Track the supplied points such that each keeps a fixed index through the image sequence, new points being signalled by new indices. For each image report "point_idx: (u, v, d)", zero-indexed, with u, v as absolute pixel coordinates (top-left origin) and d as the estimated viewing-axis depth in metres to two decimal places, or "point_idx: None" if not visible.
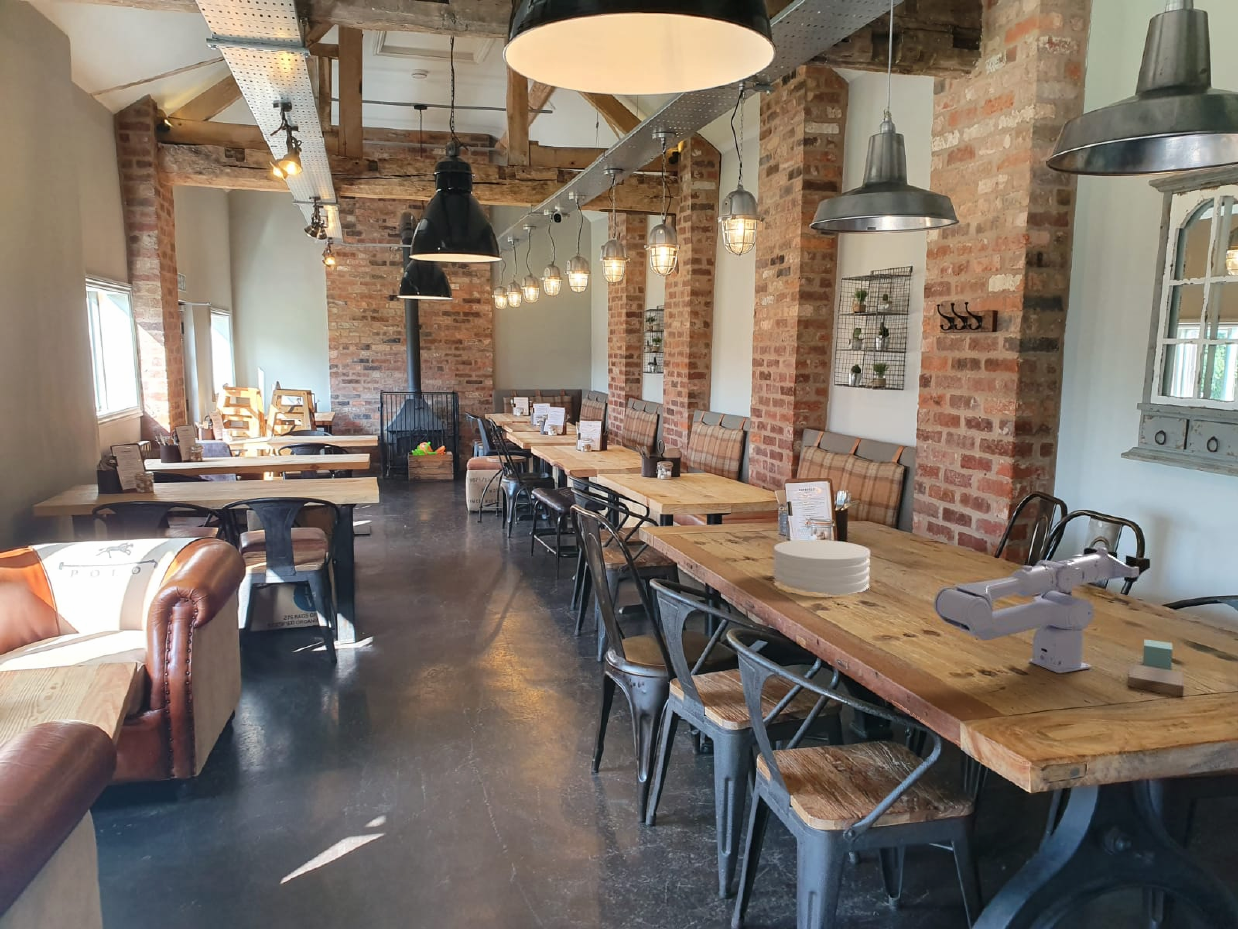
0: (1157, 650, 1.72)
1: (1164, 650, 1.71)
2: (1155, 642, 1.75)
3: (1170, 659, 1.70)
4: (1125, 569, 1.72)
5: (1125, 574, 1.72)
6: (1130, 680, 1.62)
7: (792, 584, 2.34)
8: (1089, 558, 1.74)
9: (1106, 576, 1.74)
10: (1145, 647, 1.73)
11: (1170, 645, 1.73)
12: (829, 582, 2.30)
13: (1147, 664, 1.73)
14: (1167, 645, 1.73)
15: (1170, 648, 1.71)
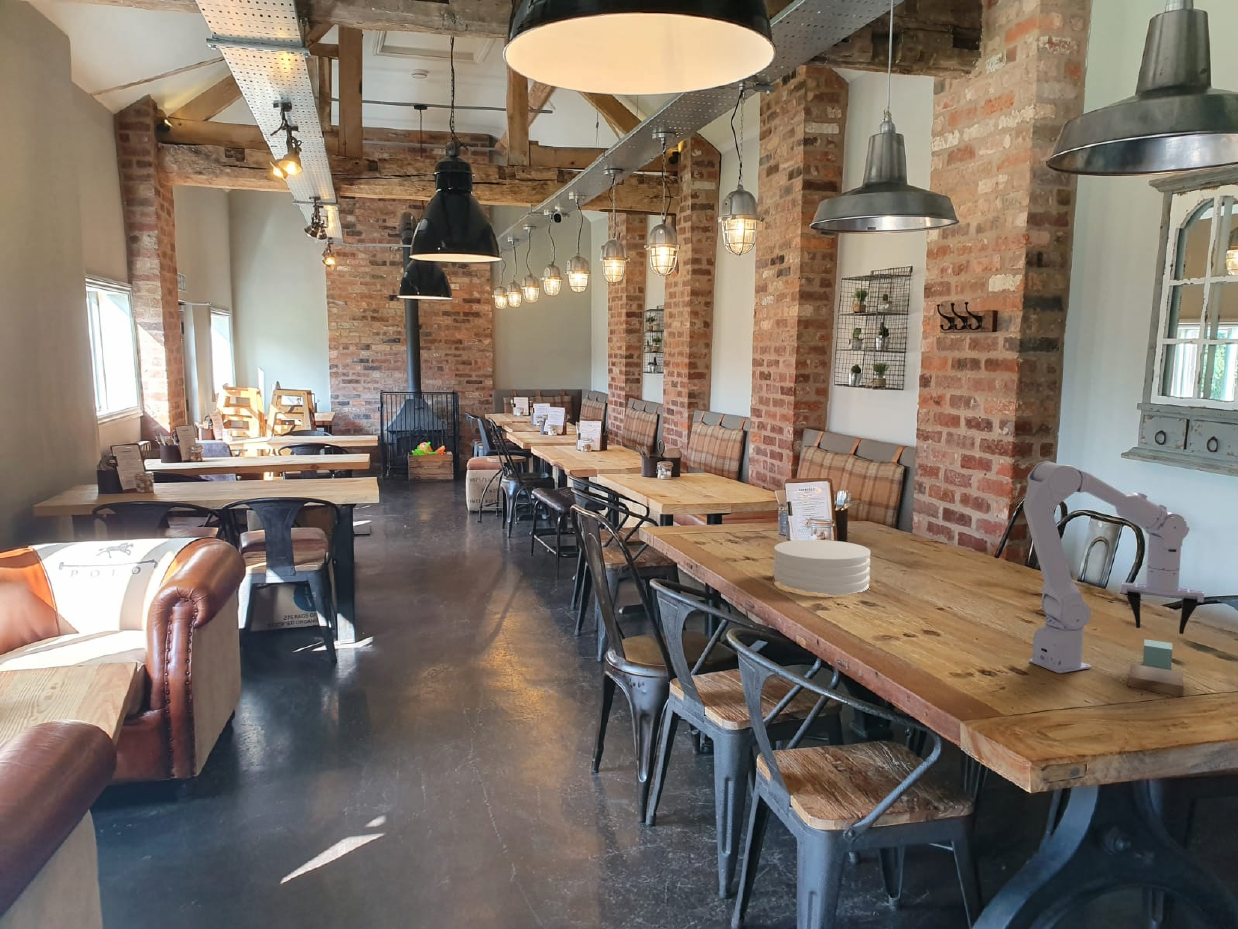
0: (1157, 650, 1.72)
1: (1164, 650, 1.71)
2: (1155, 642, 1.75)
3: (1170, 659, 1.70)
4: None
5: None
6: (1130, 680, 1.62)
7: (792, 584, 2.34)
8: None
9: (1175, 584, 1.69)
10: (1145, 647, 1.73)
11: (1170, 645, 1.73)
12: (829, 582, 2.30)
13: (1147, 664, 1.73)
14: (1167, 645, 1.73)
15: (1170, 648, 1.71)
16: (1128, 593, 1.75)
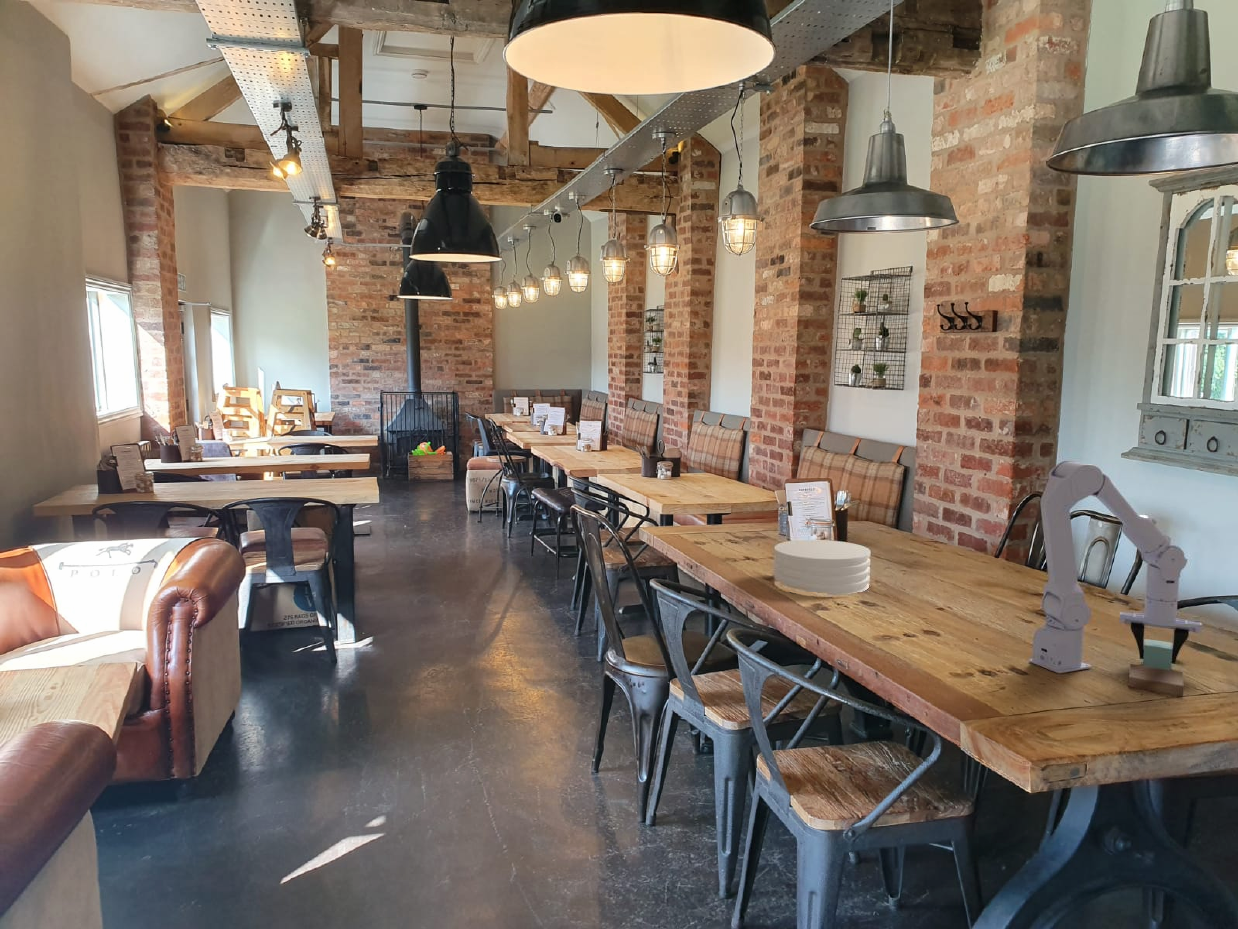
0: (1157, 650, 1.72)
1: (1164, 650, 1.71)
2: (1155, 642, 1.75)
3: (1170, 659, 1.70)
4: None
5: None
6: (1130, 680, 1.62)
7: (792, 584, 2.35)
8: None
9: (1173, 615, 1.70)
10: (1145, 647, 1.73)
11: (1170, 645, 1.73)
12: (829, 582, 2.30)
13: (1147, 664, 1.73)
14: (1168, 645, 1.73)
15: (1170, 648, 1.71)
16: (1132, 624, 1.75)
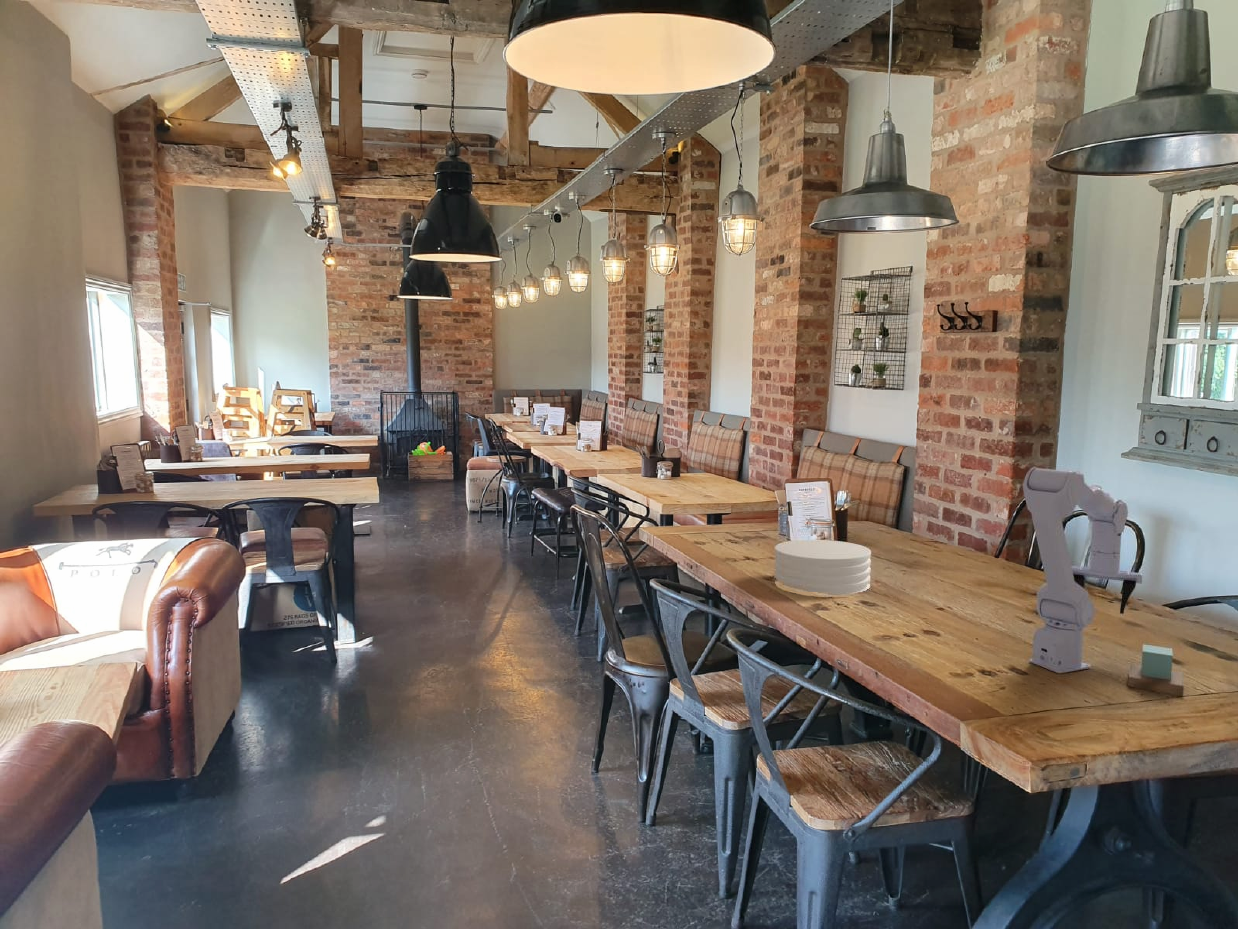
0: (1156, 656, 1.62)
1: (1164, 656, 1.61)
2: (1154, 647, 1.65)
3: (1170, 666, 1.61)
4: None
5: None
6: (1130, 680, 1.62)
7: (793, 584, 2.35)
8: None
9: (1116, 566, 1.80)
10: (1144, 653, 1.63)
11: (1170, 651, 1.63)
12: (830, 582, 2.30)
13: (1146, 671, 1.63)
14: (1167, 651, 1.63)
15: (1170, 654, 1.61)
16: (1073, 575, 1.85)
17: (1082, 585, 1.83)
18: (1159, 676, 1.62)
